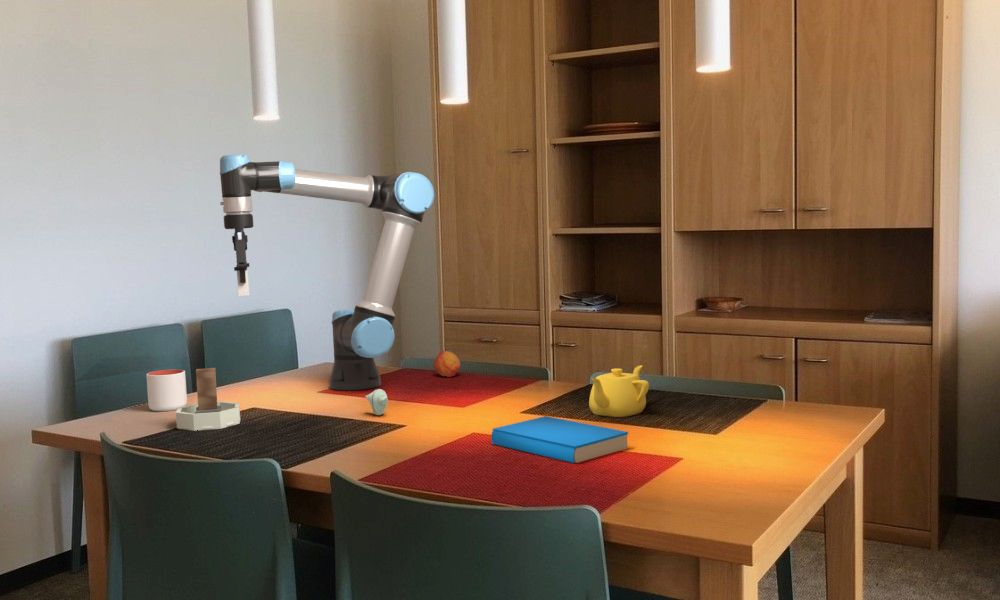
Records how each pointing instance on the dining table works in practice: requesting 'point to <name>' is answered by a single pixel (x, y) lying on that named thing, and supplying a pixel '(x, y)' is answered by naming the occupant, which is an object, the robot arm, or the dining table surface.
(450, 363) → the fruit
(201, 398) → the brown tall block
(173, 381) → the cup
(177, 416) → the octagonal tray
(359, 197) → the robot arm
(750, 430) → the dining table surface
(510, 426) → the book
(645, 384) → the teapot
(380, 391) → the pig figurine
